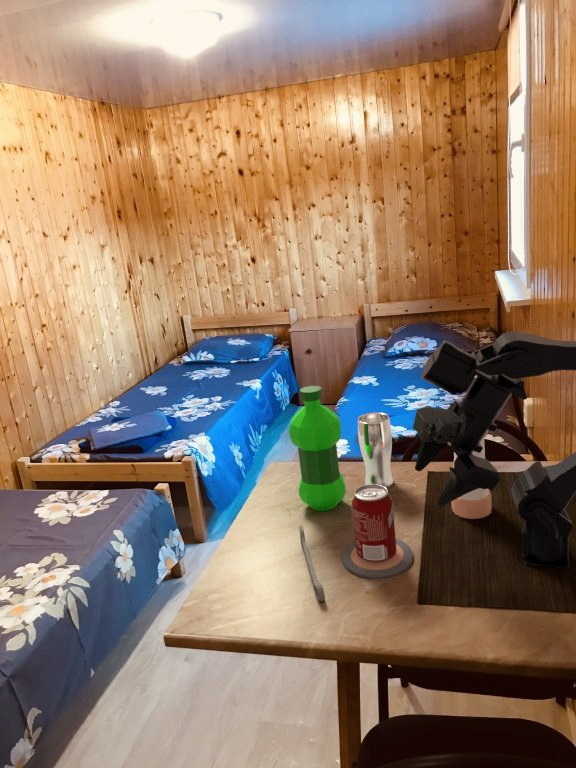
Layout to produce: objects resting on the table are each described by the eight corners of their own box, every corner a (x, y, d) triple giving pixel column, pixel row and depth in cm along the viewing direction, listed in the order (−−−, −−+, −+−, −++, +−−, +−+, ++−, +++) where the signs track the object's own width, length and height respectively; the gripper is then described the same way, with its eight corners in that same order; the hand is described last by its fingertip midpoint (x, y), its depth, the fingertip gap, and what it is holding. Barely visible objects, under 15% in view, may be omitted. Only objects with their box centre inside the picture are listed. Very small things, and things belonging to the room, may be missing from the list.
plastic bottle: (308, 491, 133) (294, 381, 126) (355, 494, 129) (343, 381, 122) (291, 514, 125) (275, 397, 117) (341, 518, 121) (328, 397, 113)
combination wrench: (323, 586, 95) (304, 521, 114) (315, 588, 95) (297, 522, 114) (326, 606, 96) (306, 538, 115) (318, 608, 96) (299, 540, 115)
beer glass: (400, 478, 134) (395, 413, 130) (387, 492, 129) (382, 425, 124) (371, 474, 138) (365, 410, 134) (357, 487, 132) (351, 422, 128)
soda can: (389, 569, 102) (383, 503, 98) (351, 562, 105) (344, 498, 101) (402, 547, 107) (397, 484, 104) (365, 541, 110) (359, 480, 107)
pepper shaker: (453, 519, 115) (448, 423, 110) (450, 500, 122) (445, 409, 117) (494, 518, 114) (491, 421, 108) (489, 499, 121) (486, 407, 115)
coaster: (418, 542, 109) (417, 538, 109) (405, 582, 99) (405, 578, 99) (352, 536, 114) (352, 533, 114) (333, 574, 103) (333, 570, 103)
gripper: (414, 365, 100) (368, 442, 106) (466, 425, 84) (409, 512, 90) (467, 385, 104) (421, 459, 110) (526, 446, 88) (469, 529, 94)
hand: (428, 486), depth 101 cm, fingers open, 9 cm apart
